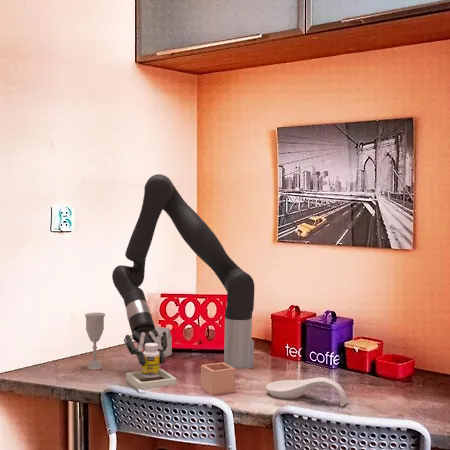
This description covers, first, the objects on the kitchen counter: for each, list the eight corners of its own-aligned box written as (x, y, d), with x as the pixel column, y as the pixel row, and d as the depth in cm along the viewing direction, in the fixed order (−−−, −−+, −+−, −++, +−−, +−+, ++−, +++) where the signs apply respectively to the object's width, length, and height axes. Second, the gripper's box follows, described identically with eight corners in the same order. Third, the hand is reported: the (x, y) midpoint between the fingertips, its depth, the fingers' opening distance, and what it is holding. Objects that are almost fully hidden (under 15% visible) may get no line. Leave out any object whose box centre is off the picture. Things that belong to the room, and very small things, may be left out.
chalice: (100, 371, 224) (100, 317, 223) (80, 369, 226) (81, 316, 224) (108, 365, 231) (108, 313, 230) (89, 363, 233) (89, 311, 232)
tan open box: (222, 387, 208) (223, 362, 208) (234, 395, 202) (235, 368, 201) (200, 391, 205) (201, 365, 204) (212, 398, 198) (212, 371, 198)
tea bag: (166, 356, 244) (166, 329, 244) (150, 354, 247) (150, 327, 247) (171, 354, 247) (171, 327, 247) (156, 352, 251) (156, 325, 250)
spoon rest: (260, 401, 197) (261, 377, 197) (272, 390, 208) (272, 367, 208) (341, 412, 189) (342, 387, 188) (349, 400, 200) (350, 376, 199)
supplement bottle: (145, 378, 207) (145, 347, 206) (139, 373, 211) (139, 343, 211) (161, 376, 209) (162, 345, 208) (155, 372, 214) (155, 341, 213)
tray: (161, 377, 218) (161, 368, 218) (176, 387, 208) (176, 378, 208) (126, 381, 213) (126, 373, 213) (139, 392, 202) (139, 383, 202)
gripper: (121, 312, 212) (134, 359, 202) (163, 309, 219) (178, 354, 209) (115, 325, 217) (127, 372, 207) (157, 322, 224) (171, 367, 214)
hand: (153, 363), depth 208 cm, fingers closed on supplement bottle, 5 cm apart
